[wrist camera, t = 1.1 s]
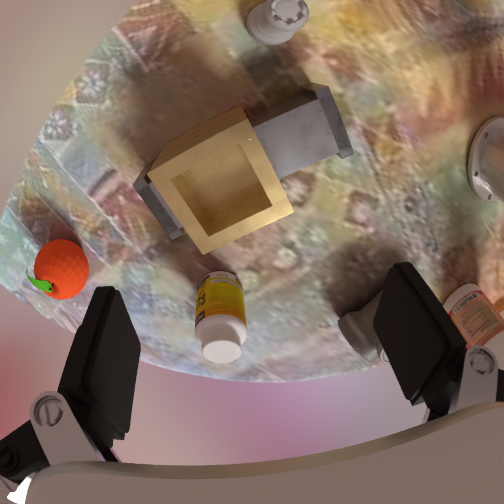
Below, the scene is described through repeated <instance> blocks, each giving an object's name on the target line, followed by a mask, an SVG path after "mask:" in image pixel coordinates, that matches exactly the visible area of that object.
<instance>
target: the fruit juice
mask: <svg viewBox="0 0 504 504" xmlns="http://www.w3.org/2000/svg"><path fill="white" fill-rule="evenodd" d="M443 307H444V309H445V310H446V312H447V313H448V314H449V316H450V317H451V319H452V320H453V322H454V323H455V325H456V326H457V328H458V329H459V331H460V333H461V334H462V336H463V337H464V339H465V340H466V342H467V344H466V348H467V349H469V348H470V347H471V346H473V345H481V346H484V347H486V348H488V349H489V350H490V351H492V352H493V354H494V355H495V357H496V359H497V361H498V368H499V369H501V370H504V319H503V318H502V316H501V315H500V313H499V312H498V311H497V309H496V308H495V307H494V306H493V304H492V303H491V302H490V300H489V299H488V298H487V297H486V295H485V294H484V293H483V292H482V290H481V289H480V288H479V287H478V286H477V285H475V284H473V283H468V284H465V285H463V286H461V287H459V288H458V289H456V290H455V291H454V292H453V293H452V294H451V295H450V296H449V297H448V298H447V299H446V301H445V302H444V304H443Z"/></svg>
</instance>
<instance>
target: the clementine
mask: <svg viewBox="0 0 504 504" xmlns="http://www.w3.org/2000/svg"><path fill="white" fill-rule="evenodd" d="M26 273H27V271H26ZM34 274H35V278H36V279H33V278H31V277H30V276H28V274H27V276H28V279H29V280H30V282H31V283H32V284H33V285H34V286H35V287H37V288H38V289H40V290H42V291H43V292H44V293H46V294H47V295H48V296H50V297H52V298H55V299H61V300H62V299H68V298H72V297H74V296H75V295H77V294H78V293H79V292H80V291H81V290H82V289H83V287H84V286H85V284H86V282H87V279H88V275H89V266H88V261H87V258H86V256H85V254H84V252H83V251H82V249H81V248H80V247H79V246H78V245H77V244H76V243H74V242H72V241H69V240H65V239H56V240H53V241H50V242H48V243H47V244H45V245H44V246H43V247H42V248H41V249H40V251H39V252H38V254H37V256H36V259H35V264H34Z"/></svg>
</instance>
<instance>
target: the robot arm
mask: <svg viewBox="0 0 504 504" xmlns="http://www.w3.org/2000/svg"><path fill="white" fill-rule="evenodd" d="M468 177H469V182H470V185H471V187H472V189H473V191H474V193H475V194H476V195H477V196H479V197H480V198H481V199H483V200H484V201H487V202H494V201H497V200H499V199H500V200H501V201H503V202H504V117H501V116H496V117H493V118H490V119H489V120H487V121H486V122H485V123H484V124H483V125H482V126H481V127H480V129H479V130H478V132H477V133H476V135H475V138H474V140H473V142H472V145H471V148H470V153H469V158H468ZM373 327H374V330H375V332H376V334H377V336H378V338H379V340H380V343H381V345H382V347H383V349H384V351H385V353H386V355H387V358H388V360H389V362H390V364H391V366H392V368H393V371H394V373H395V375H396V377H397V380H398V382H399V384H400V386H401V389H402V391H403V394H404V396H405V398H406V399H408V400H410V402H411V404H412V406H414V405H417V404H420V403H423V402H425V403H426V405H427V408H426V412H425V415H424V418H423V422H422V424H421V425H418V426H416V427H413V428H410V429H407V430H404V431H401V432H398V433H395V434H392V435H389V436H385V437H382V438H379V439H375V440H372V441H368V442H365V443H361V444H357V445H353V446H349V447H345V448H341V449H336V450H331V451H327V452H322V453H317V454H312V455H306V456H300V457H294V458H287V459H280V460H272V461H264V462H254V463H244V464H231V465H229V464H228V465H205V466H179V465H149V464H147V465H146V464H133V463H122V462H121V460H120V459H119V458H118V456H117V455H116V453H115V452H114V450H113V449H112V446H113V439H117V440H124V436H125V433H128V432H129V429H130V421H131V413H132V403H133V397H134V390H135V383H136V376H137V369H138V363H139V357H140V351H141V345H140V341H139V339H138V336H137V334H136V331H135V329H134V327H133V324H132V322H131V319H130V317H129V314H128V312H127V309H126V307H125V304H124V301H123V299H122V296H121V293H120V291H119V290H115V288H114V287H113V286H103V287H97V288H96V289H95V291H94V294H93V296H92V299H91V301H90V304H89V306H88V309H87V311H86V314H85V317H84V319H83V322H82V325H81V326H79V327H78V329H77V332H76V334H75V337H74V340H73V343H72V346H71V349H70V352H69V355H68V358H67V361H66V364H65V367H64V370H63V373H62V377H61V380H60V383H59V387H58V390H57V392H54V391H47V392H44V393H42V394H40V395H39V396H38V397H36V398H35V400H34V401H33V403H32V405H31V408H30V420H29V421H27V422H26V423H24V424H23V425H22V426H20V427H19V428H17V429H16V430H14V431H13V432H12V433H10V434H9V435H8V436H6V437H5V438H4V439H2V440H0V504H504V370H501V369H499V368H498V361H497V359H496V357H495V355H494V354H493V352H492V351H490V350H489V349H488V348H486V347H484V346H481V345H473V346H471V347H470V348H469V349H467V348H466V344H467V342H466V340H465V339H464V337H463V336H462V334H461V333H460V331H459V329H458V328H457V326H456V325H455V323H454V322H453V320H452V319H451V317H450V316H449V314H448V313H447V312H446V310H445V309H444V307H443V306H442V304H441V303H440V302H439V300H438V299H437V297H436V296H435V294H434V293H433V292H432V290H431V289H430V288H429V286H428V285H427V284H426V282H425V281H424V279H423V278H422V277H421V275H420V274H419V273H418V272H417V270H416V269H415V268H414V266H413V265H412V264H411V263H410V262H403V263H396V264H394V265H393V267H392V268H390V270H389V272H388V276H387V279H386V282H385V285H384V289H383V292H382V295H381V298H380V301H379V304H378V307H377V310H376V313H375V316H374V319H373Z"/></svg>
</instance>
